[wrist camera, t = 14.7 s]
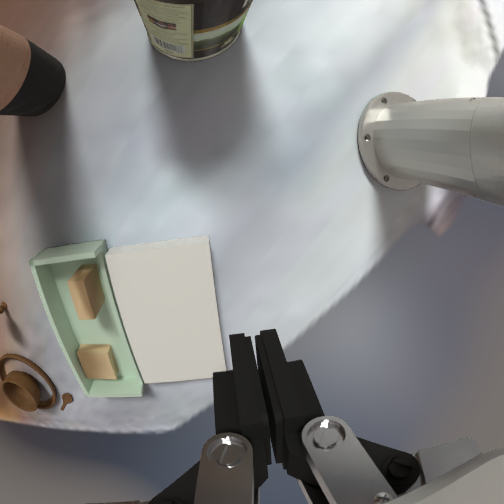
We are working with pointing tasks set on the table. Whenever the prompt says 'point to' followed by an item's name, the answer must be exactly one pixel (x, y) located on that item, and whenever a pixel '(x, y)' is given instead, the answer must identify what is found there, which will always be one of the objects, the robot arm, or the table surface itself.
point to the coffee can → (192, 26)
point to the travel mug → (27, 76)
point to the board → (169, 307)
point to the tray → (86, 331)
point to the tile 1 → (86, 291)
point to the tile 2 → (98, 361)
